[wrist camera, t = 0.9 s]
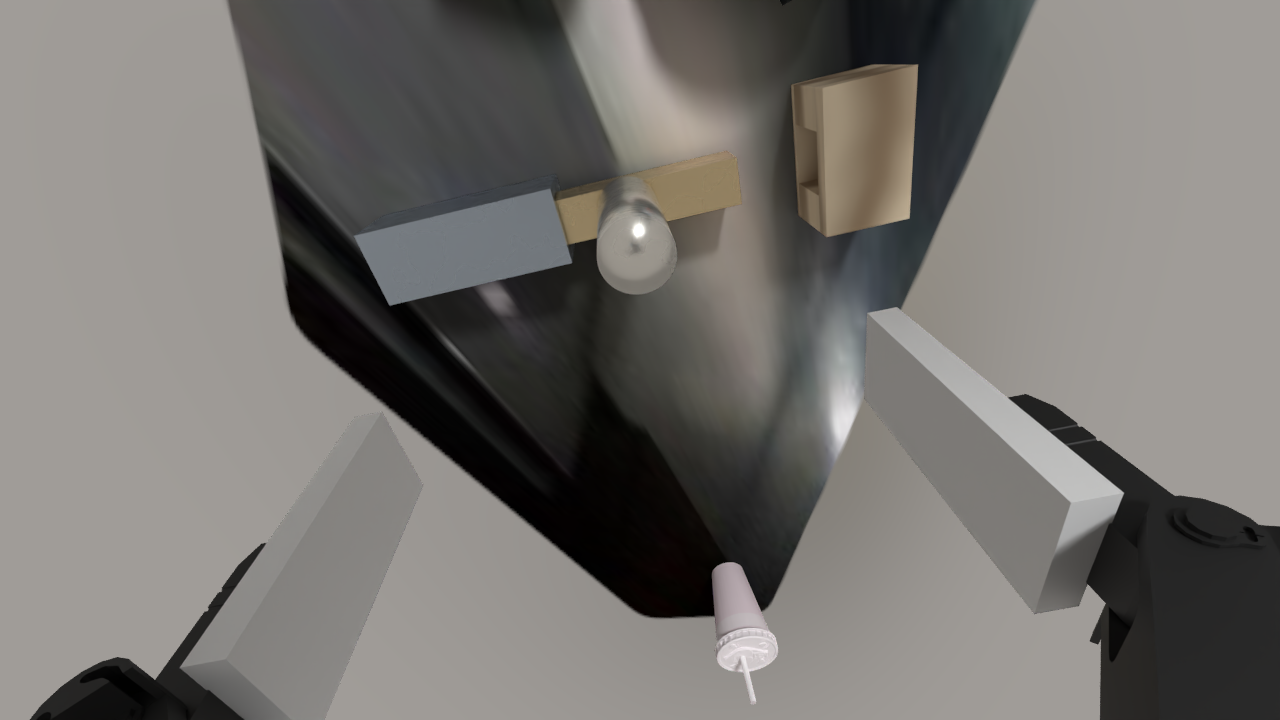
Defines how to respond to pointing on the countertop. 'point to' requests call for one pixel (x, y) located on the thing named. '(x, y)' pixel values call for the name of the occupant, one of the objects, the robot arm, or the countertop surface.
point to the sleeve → (467, 241)
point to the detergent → (784, 2)
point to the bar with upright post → (645, 216)
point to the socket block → (855, 147)
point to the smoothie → (740, 625)
